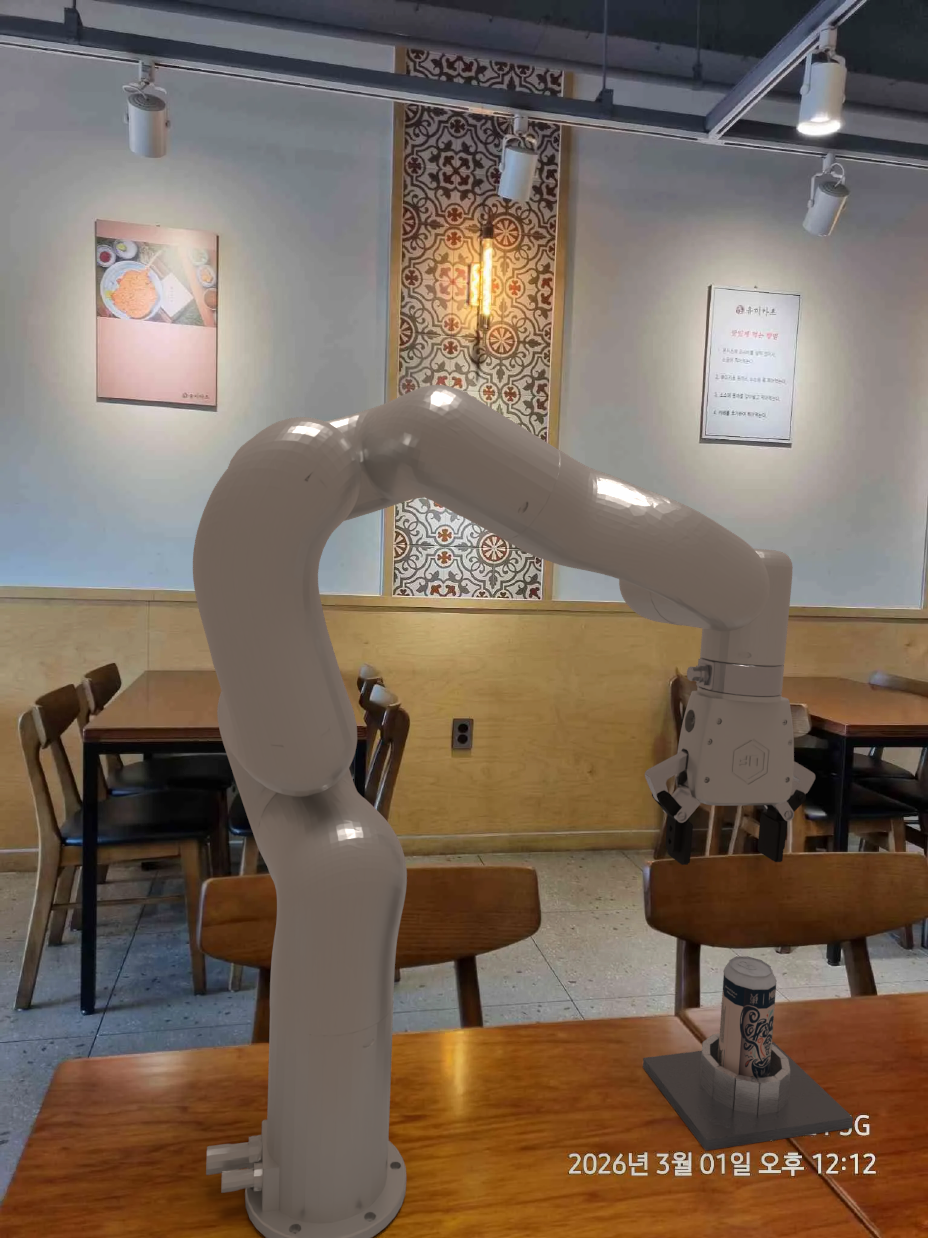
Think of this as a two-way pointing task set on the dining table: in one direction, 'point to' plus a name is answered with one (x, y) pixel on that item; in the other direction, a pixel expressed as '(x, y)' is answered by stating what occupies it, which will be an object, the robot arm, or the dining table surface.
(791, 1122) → the can stand
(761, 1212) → the dining table surface
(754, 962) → the canned coffee drink
